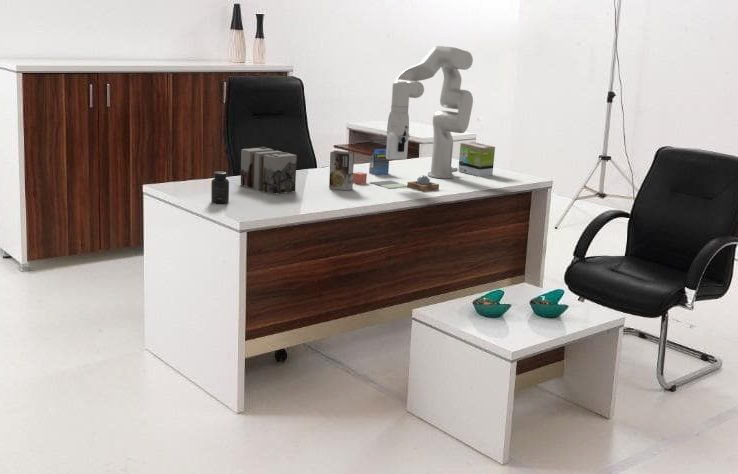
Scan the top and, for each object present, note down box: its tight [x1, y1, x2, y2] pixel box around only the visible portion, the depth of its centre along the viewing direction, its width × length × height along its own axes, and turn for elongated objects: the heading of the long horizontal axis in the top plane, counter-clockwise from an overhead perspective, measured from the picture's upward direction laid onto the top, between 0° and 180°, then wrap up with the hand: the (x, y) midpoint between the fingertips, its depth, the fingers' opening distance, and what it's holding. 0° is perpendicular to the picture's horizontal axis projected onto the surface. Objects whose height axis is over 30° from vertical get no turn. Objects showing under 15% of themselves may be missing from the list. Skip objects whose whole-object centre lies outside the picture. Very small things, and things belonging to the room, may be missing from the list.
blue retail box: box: [368, 148, 390, 176], centre depth 436 cm, size 9×4×12 cm, turn 121°
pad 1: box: [369, 179, 399, 187], centre depth 413 cm, size 12×6×1 cm, turn 129°
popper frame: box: [406, 180, 440, 192], centre depth 407 cm, size 10×10×2 cm
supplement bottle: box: [210, 170, 230, 205], centre depth 354 cm, size 7×7×12 cm
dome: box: [416, 175, 431, 185], centre depth 406 cm, size 6×6×5 cm
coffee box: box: [328, 150, 355, 192], centre depth 395 cm, size 9×6×16 cm
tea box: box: [457, 141, 496, 178], centre depth 451 cm, size 15×10×15 cm, turn 41°
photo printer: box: [385, 132, 409, 161], centre depth 404 cm, size 10×4×12 cm, turn 124°
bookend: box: [240, 146, 298, 195], centre depth 386 cm, size 16×25×16 cm, turn 44°
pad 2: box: [379, 182, 408, 190], centre depth 408 cm, size 12×6×1 cm, turn 129°
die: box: [353, 171, 367, 185], centre depth 411 cm, size 4×4×5 cm
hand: (397, 150), depth 404 cm, fingers closed on photo printer, 4 cm apart
